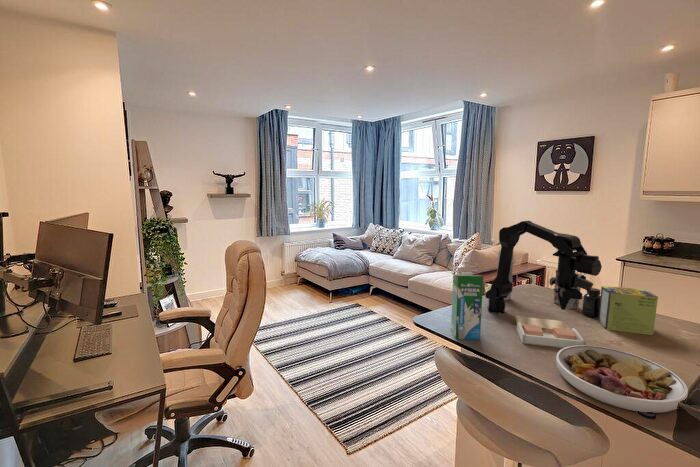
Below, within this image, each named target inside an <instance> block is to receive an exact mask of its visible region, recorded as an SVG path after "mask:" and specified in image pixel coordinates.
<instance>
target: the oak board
mask: <svg viewBox="0 0 700 467" xmlns="http://www.w3.org/2000/svg"><path fill="white" fill-rule="evenodd" d="M515 322H516V323H515V324H517V322H518V323H521V326H522V328H523V324H526V325H536V326H540V327H541V329H542V331H543V332H549V333H552V329H553V328H563V329H570V330H571V328H570V327H569V326H568V324H567V323H566V322H565V321H564V320H556V319H546V318H538V317H537V318H535V317H527V316H519V315H517V316H515Z"/></svg>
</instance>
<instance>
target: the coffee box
mask: <svg viewBox="0 0 700 467" xmlns="http://www.w3.org/2000/svg"><path fill="white" fill-rule="evenodd" d="M576 274H577V275H578V276H579V275H580V274H579V273H576ZM555 277H557V273H556V272H555ZM554 288H555V289H556V285H555V284H554ZM576 289H578V290H579V291H580V292H581V290H582V288H580V287H578V286H577V288H576ZM553 292H554V291H553ZM553 303H554V304H556V305H558V306H560V305H559V302H558V299H557V297H556V294H555V292H554V293H553ZM579 304H580V299H570V300H569V302H568V304H567V306H566V308H565V309H568V310H572V309H579V306H580V305H579Z"/></svg>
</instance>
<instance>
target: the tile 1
mask: <svg viewBox="0 0 700 467" xmlns="http://www.w3.org/2000/svg"><path fill="white" fill-rule="evenodd" d="M523 330H524V332H525V334H527V335H536V336H543V333H544V332H543V331H542V329H541V327H540V326H536V325H526V324H523Z"/></svg>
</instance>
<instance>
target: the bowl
mask: <svg viewBox="0 0 700 467" xmlns="http://www.w3.org/2000/svg"><path fill="white" fill-rule="evenodd" d="M555 361H556V362H555V363H556V366H557V369H558V371H559V373H560V374H561V376H562V377H563V378H564V379H565V380H566V382H568V383H569V384H570V385H572V387H574V388H576V389H577V390H578V391H580V392H582V393H583V394H585V395H587V396H588V397H591V398H593V399H595V400H597V401H600V402H602V403H605V404H608V405H609V406H613V407H616V408H620V409H624V410H628V411H634V412H638V411H639V413H647V412H653V413H652V414H654V413H655V414H656V413H657V414H658V413H667V412H671V411H675V410H677V409H678V408H677V405H678V402H680V401H682V400H685V399H686V398H687V399H688V397H689V396H688V395H689V388H688V386H687V384H686V383H685V382H684V380H683V379H682V378H680V377H679V376H678V375H677V374H676V373H674V372H673V371H671V370H670V369H668V368H666V367H664V366H662V365H660V364H659V363H657V362H654V361H653V360H649V359H648V358H644V357H642V356H639V355H637V354H634V353H631V352H628V351H624V350H620V349H616V348H610V347H604V346H598V345H577V346H569V347H565V348H560V350H559V351H557V353H556V358H555ZM687 399H686V400H687Z"/></svg>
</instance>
